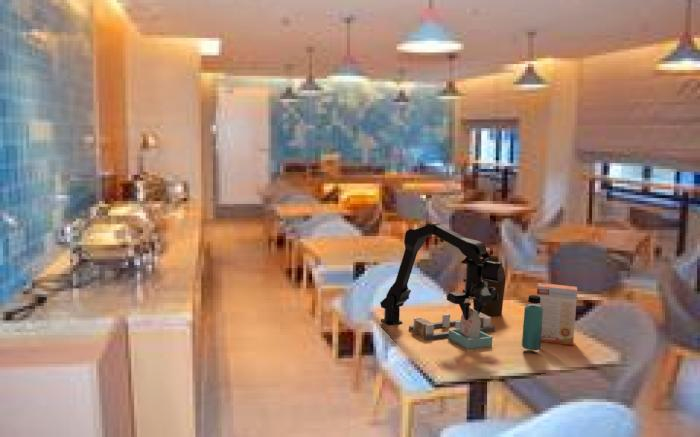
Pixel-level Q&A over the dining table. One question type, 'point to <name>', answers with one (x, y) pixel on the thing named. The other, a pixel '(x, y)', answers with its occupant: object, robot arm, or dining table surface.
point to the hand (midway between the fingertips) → (471, 319)
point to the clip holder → (448, 323)
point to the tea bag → (471, 324)
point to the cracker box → (557, 312)
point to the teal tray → (470, 340)
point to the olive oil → (496, 305)
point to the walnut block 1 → (421, 326)
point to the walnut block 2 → (482, 318)
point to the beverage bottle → (532, 324)
